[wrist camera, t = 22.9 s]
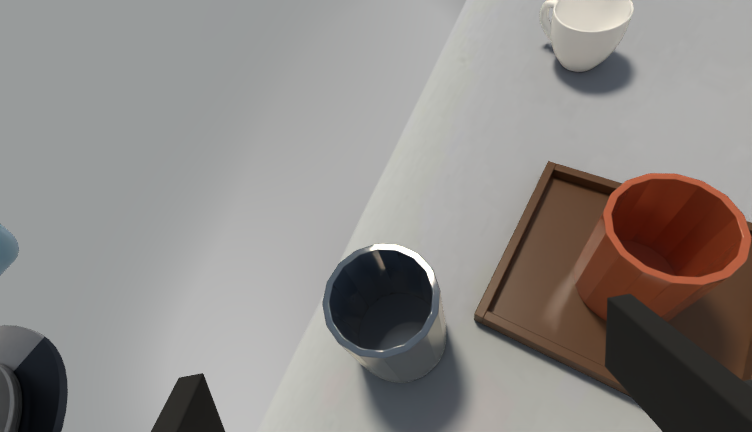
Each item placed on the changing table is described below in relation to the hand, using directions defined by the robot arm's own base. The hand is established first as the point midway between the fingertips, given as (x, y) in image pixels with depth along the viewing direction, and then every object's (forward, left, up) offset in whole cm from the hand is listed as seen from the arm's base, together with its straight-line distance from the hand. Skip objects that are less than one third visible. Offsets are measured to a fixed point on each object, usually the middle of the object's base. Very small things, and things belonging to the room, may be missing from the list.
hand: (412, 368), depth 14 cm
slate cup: (-7, +4, -23) cm, 25 cm away
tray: (+8, +17, -23) cm, 30 cm away
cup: (-5, +43, -23) cm, 50 cm away
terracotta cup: (+8, +17, -23) cm, 30 cm away
